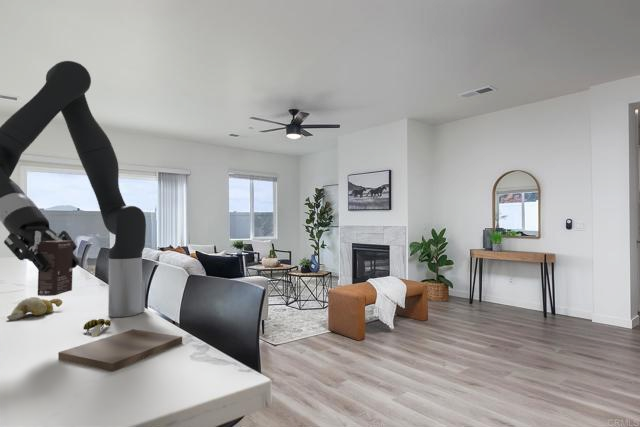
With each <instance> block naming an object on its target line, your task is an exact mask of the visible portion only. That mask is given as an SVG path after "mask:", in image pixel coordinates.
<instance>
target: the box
mask: <svg viewBox="0 0 640 427" xmlns="http://www.w3.org/2000/svg"><path fill="white" fill-rule="evenodd" d="M73 242H74V240H73V241H69V240H54V241H42V242H39V251H40V253H39V254H42V255H43V256H44V258H45V259H46V260H47V261H48V263H49V264H50V266H51V267H50V268H49V270H48V271H47V272H44V273H42V272H41V271H40V270H38V269H37V271H38V274H37V296H39V297H52V296H55V297H56V296H58V295H61V294H63V293H68V292H71V291H73V269H74V268H73V254H74V251H73Z"/></svg>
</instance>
